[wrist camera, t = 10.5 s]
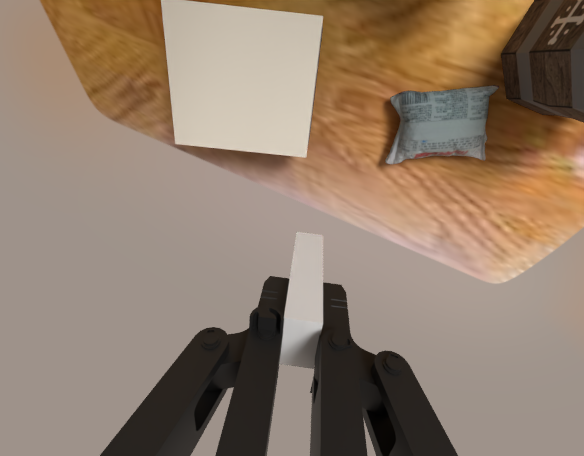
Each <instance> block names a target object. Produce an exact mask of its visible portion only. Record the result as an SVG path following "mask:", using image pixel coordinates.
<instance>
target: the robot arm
mask: <svg viewBox="0 0 584 456" xmlns="http://www.w3.org/2000/svg"><path fill="white" fill-rule="evenodd" d="M279 364H284V365H291V366H299V367H305V368H312V369H313V368H314V377H313V382H312V387H311V391H310V393H312V414H311V443H310V456H367V448H366V439H365V430H364V422H363V417H364V420H365V423H366V426H367V429H368V432H369V435H370V438H371V441H372V444H373V447H374V450H375V453H376V456H458V455H457V453H456V451H455V449H454V447H453V445H452V444H451V442H450V440H449V438H448V436H447V434H446V433H445V431H444V429H443V427H442V425H441V423H440V421H439V420H438V418H437V416H436V414H435V412H434V410H433V409H432V407H431V405H430V403H429V401H428V399H427V397H426V395H425V394H424V392H423V390H422V388H421V386H420V384H419V383H418V381H417V379H416V377H415V375H414V373H413V371H412V369H411V368H410V366H409V364H408V363H407V361H406V360H405V359H404V358H403V357H401V356H400V355H399V354H397V353H394V352H392V351H382V352H379V353H378V354H377V355H375V354H372V353H370V352H368V351H365V350H364V349H362V348H360V347H359V346H358V345H357V344H356V343H355V342H354V341H353V339H352V337H351V334H350V327H349V318H348V309H347V298H346V292H345V290H344V289H343V287H342V286H341V285H338V284H331V283H323V235H319V234H310V233H303V232H297V234H296V241H295V247H294V254H293V261H292V267H291V274H290V279H288V278H281V277H273V276H270V277H269V278H268V279H267V280H266V281H265V283H264V286H263V289H262V293H261V298H260V301H259V305H258V307H257V308H256V309H254V310H253V311H252V313H251V314H250V326H249V328H248V329H247V330H245V331H243V332H240V333H235V334H228V335H227V333H226V332H225V331H224V330H222V329H220V328H215V327H212V328H206V329H204V330H202V331H200V332H199V333H198V334H197V335H195V337H194V338H193V339H192V341H191V342H190V343H189V344H188V346H187V347H186V348H185V349H184V351H183V352H182V353H181V354H180V356H179V357H178V358H177V359H176V361H175V362H174V363H173V364H172V366H171V367H170V368H169V370H168V371H167V372H166V373H165V374H164V376H163V377H162V378H161V380H160V381H159V382H158V383H157V384H156V386H155V387H154V388H153V390H152V391H151V392H150V393H149V395H148V396H147V397H146V398H145V400H144V401H143V402H142V403H141V405H140V406H139V407H138V409H137V410H136V411H135V412H134V413H133V415H132V416H131V417H130V419H129V420H128V421H127V423H126V424H125V425H124V426H123V427H122V428H121V430H120V431H119V433H118V434H117V435H116V436H115V437H114V439H113V440H112V441H111V442H110V444H109V445H108V446H107V447H106V449H105V450H104V451H103V452H102V454H101V455H100V456H190V455H191V453H192V452H193V449H194V448H195V446H196V445H197V443H198V441H199V439H200V437H201V436H202V434H203V432H204V430H205V428H206V427H207V425H208V423H209V421H210V420H211V418H212V416H213V414H214V412H215V411H216V409H217V407H218V405H219V403H220V401H221V400H222V398H223V396H224V395H225V393H226V390H227V389H228V388H231V387H234V389H233V393H232V396H231V400H230V404H229V408H228V411H227V415H226V419H225V423H224V426H223V430H222V434H221V437H220V441H219V445H218V449H217V452H216V456H267V449H268V442H269V435H270V427H271V421H272V414H273V406H274V399H275V392H276V385H277V378H278V369H279ZM314 364H315V366H314Z"/></svg>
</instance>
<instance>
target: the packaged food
mask: <svg viewBox="0 0 584 456" xmlns="http://www.w3.org/2000/svg"><path fill="white" fill-rule="evenodd" d="M498 88H499V86H495V85H493V86H486V87H475V88H462V89H453V90H445V91H432V92H422V93H421V92H416V91H404V92H401V93H399V94H397V95H394V96H392V97H391V98H390V99H391V104H392V105H393V106H394V108H395V109H396V111H397V113H398V114H399V116H400V126H399V129H398V132H397V134H396V137H395V140H394V142H393V145H392V148H391V150H390V153H389V155H388V156H387V158H386V161H385V162H386V163H388V164H396V163H401V162H402V161H403V160H406V159H418V158H424V157H429V156H451V155H454V156H469V157H474V158H478V159H481V160H483V161H485V144H484V143H485V141H487V135H486V132H485V124H486V120H487V116H488V105H489V96H490V95H492V94H493V93H494V92H495V91H496V90H497V89H498ZM482 147H483V148H482Z"/></svg>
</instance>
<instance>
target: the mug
mask: <svg viewBox="0 0 584 456" xmlns="http://www.w3.org/2000/svg"><path fill="white" fill-rule="evenodd" d="M501 58H502V66H503V74H504V82H505V90H506V98H507V99H508V100H510V101H513V102H515V103H517V104H519V105H522V106H524V107H526V108H529V109H531V110H533V111H535V112H538V113H540V114H542V115H559V116H563V117H568V118H572V119H575V120H578V121H581V122H584V0H534V2H533V4H532V5H531V7H530V8H529V10H528V12H527V13H526V15H525V16H524V18H523V20H522V21H521V23H520V24H519V26H518V28H517V29H516V31H515V32H514V34H513V36H512V37H511V39H510V40H509V42H508V44H507V45H506V47H505V48H504V50H503V51H502V53H501Z"/></svg>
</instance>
